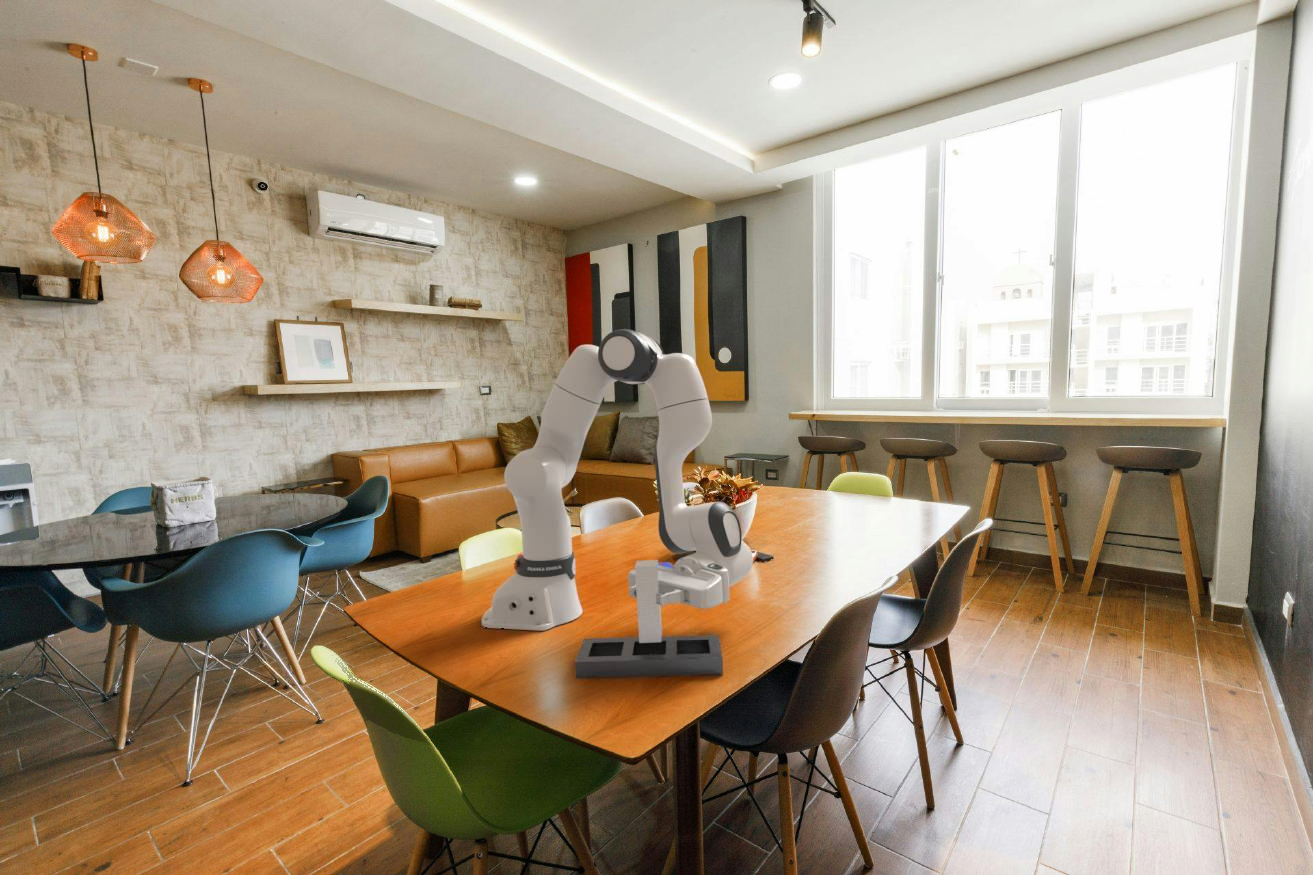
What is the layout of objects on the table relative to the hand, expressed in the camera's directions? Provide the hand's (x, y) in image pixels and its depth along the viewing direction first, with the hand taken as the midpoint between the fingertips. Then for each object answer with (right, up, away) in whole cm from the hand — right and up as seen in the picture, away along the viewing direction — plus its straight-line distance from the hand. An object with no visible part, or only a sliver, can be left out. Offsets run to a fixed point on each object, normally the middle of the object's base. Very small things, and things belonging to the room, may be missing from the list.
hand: (645, 596), depth 107 cm
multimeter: (+28, -8, +62) cm, 68 cm away
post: (+1, -8, +1) cm, 8 cm away
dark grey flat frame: (+1, -13, +2) cm, 13 cm away
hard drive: (+4, -9, +57) cm, 58 cm away
